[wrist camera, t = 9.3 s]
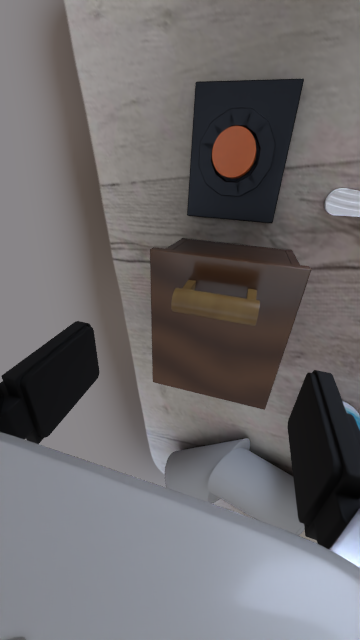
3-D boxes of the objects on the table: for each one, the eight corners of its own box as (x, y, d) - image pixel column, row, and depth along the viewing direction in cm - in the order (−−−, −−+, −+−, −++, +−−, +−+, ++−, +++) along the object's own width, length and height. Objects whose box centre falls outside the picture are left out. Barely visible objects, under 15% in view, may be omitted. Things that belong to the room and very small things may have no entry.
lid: (153, 246, 21) (126, 265, 17) (310, 266, 19) (324, 293, 14) (155, 377, 29) (137, 411, 25) (264, 404, 27) (265, 447, 22)
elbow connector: (267, 417, 37) (165, 439, 46) (279, 500, 29) (152, 507, 38) (309, 468, 45) (214, 478, 54) (328, 544, 37) (212, 541, 46)
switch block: (199, 87, 23) (190, 72, 20) (301, 85, 21) (308, 67, 18) (190, 214, 28) (182, 217, 25) (271, 221, 26) (273, 225, 23)
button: (218, 130, 22) (214, 125, 20) (260, 130, 21) (260, 125, 19) (213, 177, 23) (209, 176, 22) (251, 179, 23) (251, 178, 21)
